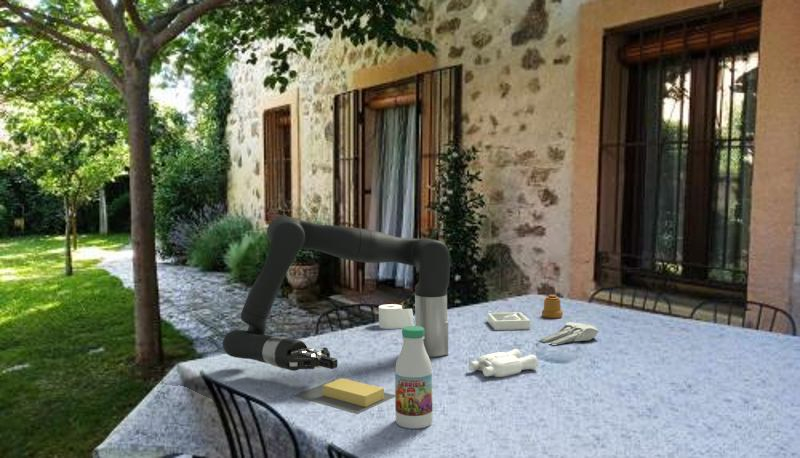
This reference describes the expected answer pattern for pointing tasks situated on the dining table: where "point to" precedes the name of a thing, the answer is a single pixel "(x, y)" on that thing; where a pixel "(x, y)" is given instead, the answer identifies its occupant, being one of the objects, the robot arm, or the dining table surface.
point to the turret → (572, 333)
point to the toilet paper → (394, 316)
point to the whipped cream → (512, 317)
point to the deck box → (353, 392)
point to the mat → (317, 396)
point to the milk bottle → (413, 381)
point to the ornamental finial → (552, 307)
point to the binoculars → (504, 363)
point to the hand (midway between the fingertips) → (335, 364)
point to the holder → (508, 321)
